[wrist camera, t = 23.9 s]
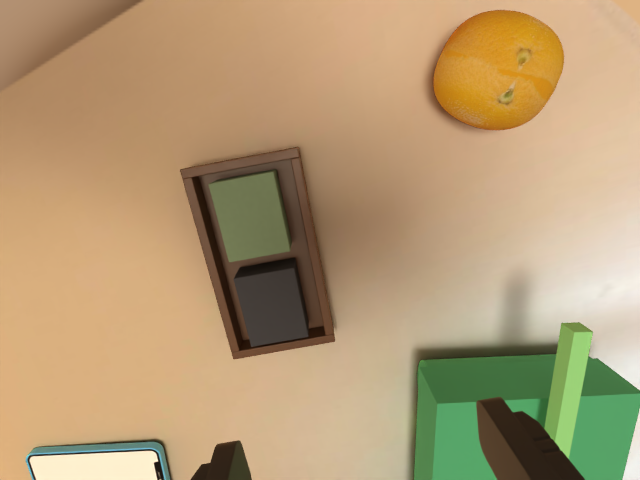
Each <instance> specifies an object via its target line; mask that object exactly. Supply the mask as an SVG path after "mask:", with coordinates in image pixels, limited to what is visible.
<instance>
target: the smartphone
mask: <svg viewBox="0 0 640 480" xmlns="http://www.w3.org/2000/svg"><path fill="white" fill-rule="evenodd" d="M26 463H27V466H28V469H29V471H30V474H31V477H32V480H170V476H169V472H168V467H167V462H166V458H165V453H164V449H163V446H162V445H161V444H159V443H157V442H137V443H116V444H96V445H75V446H54V447H37V448H34V449H33V450H32V451H31V452H30V453H29V454H28V456H27V457H26Z"/></svg>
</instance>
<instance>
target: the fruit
mask: <svg viewBox="0 0 640 480" xmlns="http://www.w3.org/2000/svg"><path fill="white" fill-rule="evenodd" d="M563 63H564V53H563V48H562V45H561V42H560V40H559V38H558V36H557V35H556V34H555V32H554V31H553V30H552V29H551V28H550V27H548V26H547V25H546V24H544V23H543V22H541V21H540V20H538V19H536V18H534V17H532V16H530V15H527V14H524V13H521V12H516V11H507V10H495V11H488V12H484V13H480V14H478V15H475V16H473V17H471V18H469V19H468V20H466V21H465V22H464V23H462V24H461V25H460V26H459V27H458V28H457V29H456V30H455V31H454V32H453V34H452V35H451V37H450V38H449V40H448V41H447V43H446V45H445V47H444V49H443V51H442V53H441V55H440V57H439V60H438V62H437V65H436V68H435V73H434V91H435V95H436V98H437V100H438V102H439V103H440V105H441V106H442V107H443V108H444V109H445V110H446V111H447V112H448V113H449V114H450V115H452V116H453V117H455V118H456V119H458V120H460V121H462V122H464V123H466V124H468V125H471V126H474V127H478V128H482V129H487V130H505V129H511V128H515V127H518V126H520V125H522V124H524V123H526V122H528V121H530V120H531V119H532V118H534V117H535V116H536V115H537V114H538V113H539V112H540V111H541V110H542V108H543V107H544V106H545V104H546V103H547V101H548V100H549V98H550V96H551V95H552V93H553V92H554V90H555V88H556V85H557V83H558V80H559V78H560V75H561V73H562V69H563Z"/></svg>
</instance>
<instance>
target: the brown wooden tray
mask: <svg viewBox="0 0 640 480" xmlns="http://www.w3.org/2000/svg"><path fill="white" fill-rule="evenodd" d="M272 169H277V173H278V178H279V183H280V188H281V192H282V197H283V202H284V207H285V211H286V216H287V221H288V226H289V230H290V235H291V240H292V244H291V250H290V252H284V253H279V254H273V255H268V256H262V257H257V258H251V259H246V260H240V261H235V262H229V260H228V257H227V253H226V249H225V245H224V241H223V238H222V234H221V230H220V226H219V223H218V219H217V215H216V211H215V207H214V204H213V200H212V196H211V192H210V189H209V183H212V182H214V181H216V180H219V179H224V178H230V177H235V176H240V175H246V174H251V173H256V172H262V171H267V170H272ZM180 172H181V175H182V178H183V182H184V186H185V189H186V193H187V196H188V200H189V204H190V207H191V211H192V214H193V218H194V221H195V225H196V228H197V232H198V235H199V239H200V242H201V246H202V249H203V253H204V257H205V260H206V264H207V267H208V271H209V274H210V278H211V281H212V285H213V288H214V292H215V295H216V299H217V303H218V306H219V310H220V313H221V317H222V320H223V324H224V327H225V331H226V334H227V338H228V341H229V345H230V349H231V352H232V356H233V359H239V358H244V357H250V356H256V355H261V354H267V353H273V352H278V351H284V350H290V349H295V348H301V347H307V346H312V345H318V344H324V343H329V342H335V337H334V329H333V324H332V319H331V313H330V308H329V303H328V298H327V292H326V287H325V282H324V277H323V272H322V266H321V261H320V256H319V251H318V245H317V240H316V235H315V230H314V224H313V219H312V214H311V209H310V204H309V198H308V193H307V188H306V183H305V177H304V172H303V167H302V162H301V157H300V151H299V147H295V148H290V149H284V150H279V151H274V152H269V153H263V154H258V155H253V156H247V157H242V158H237V159H231V160H226V161H221V162H215V163H210V164H205V165H199V166H194V167H189V168H185V169H181V170H180ZM289 258H295V259H296V263H297V268H298V273H299V278H300V282H301V287H302V292H303V297H304V301H305V306H306V311H307V316H308V320H309V336H308V337H304V338H299V339H293V340H287V341H282V342H276V343H270V344H265V345H259V346H253V347H251V344H250V340H249V336H248V332H247V329H246V325H245V321H244V317H243V314H242V310H241V306H240V302H239V298H238V295H237V291H236V287H235V283H234V277H235V275H236V273H237V271H238V270H239V268H240V267H245V266H250V265H256V264H261V263H267V262H273V261H278V260H284V259H289Z"/></svg>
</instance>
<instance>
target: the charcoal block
mask: <svg viewBox="0 0 640 480" xmlns="http://www.w3.org/2000/svg"><path fill="white" fill-rule="evenodd" d="M234 283H235V287H236V291H237V295H238V298H239V302H240V306H241V310H242V314H243V317H244V321H245V325H246V329H247V332H248V336H249V340H250V344H251V347H253V346H259V345H265V344H270V343H276V342H282V341H287V340H293V339H299V338H304V337H308V336H309V320H308V316H307V311H306V306H305V301H304V297H303V292H302V287H301V282H300V278H299V273H298V268H297V263H296V259H295V258H289V259H284V260H278V261H273V262H267V263H261V264H256V265H250V266H245V267H240V268H239V270H238V271H237V273H236V275H235V277H234Z"/></svg>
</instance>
